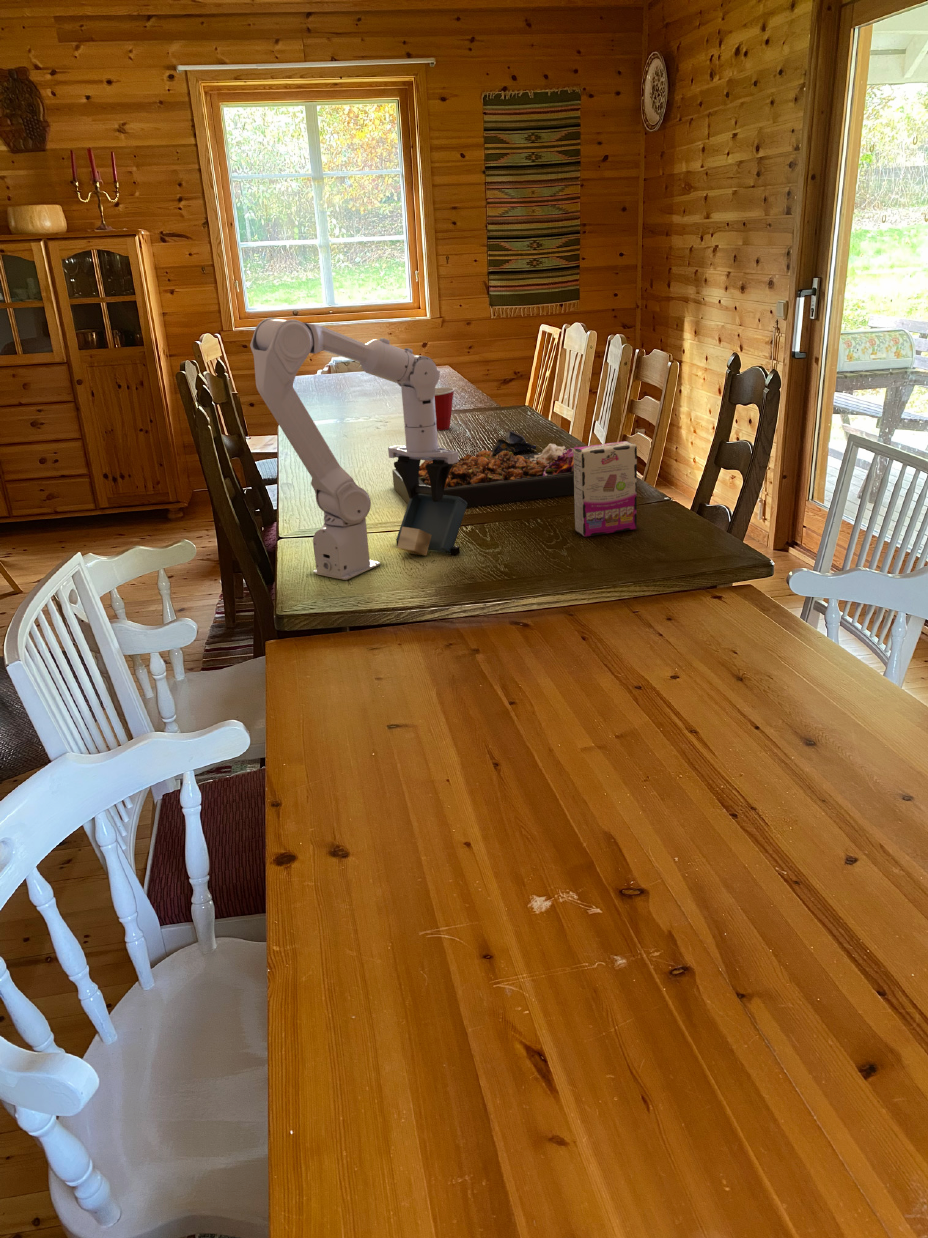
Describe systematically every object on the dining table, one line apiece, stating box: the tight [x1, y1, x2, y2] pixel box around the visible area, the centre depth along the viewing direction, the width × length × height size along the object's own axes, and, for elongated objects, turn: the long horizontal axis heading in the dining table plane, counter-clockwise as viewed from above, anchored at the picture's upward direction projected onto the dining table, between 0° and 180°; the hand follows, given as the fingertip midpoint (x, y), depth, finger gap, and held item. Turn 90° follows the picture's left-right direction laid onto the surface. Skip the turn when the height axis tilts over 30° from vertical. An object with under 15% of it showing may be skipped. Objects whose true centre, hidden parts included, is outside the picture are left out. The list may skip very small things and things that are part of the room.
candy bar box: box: [572, 440, 638, 538], centre depth 173 cm, size 11×5×16 cm, turn 106°
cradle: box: [395, 539, 461, 557], centre depth 171 cm, size 2×14×1 cm, turn 54°
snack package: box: [490, 430, 538, 456], centre depth 246 cm, size 12×6×12 cm
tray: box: [395, 485, 468, 555], centre depth 169 cm, size 10×11×6 cm
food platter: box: [391, 443, 578, 508], centre depth 209 cm, size 45×25×10 cm, turn 105°
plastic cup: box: [434, 386, 456, 431], centre depth 283 cm, size 11×11×12 cm
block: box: [396, 527, 432, 557], centre depth 167 cm, size 4×4×4 cm
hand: (426, 498), depth 168 cm, fingers closed on tray, 5 cm apart
